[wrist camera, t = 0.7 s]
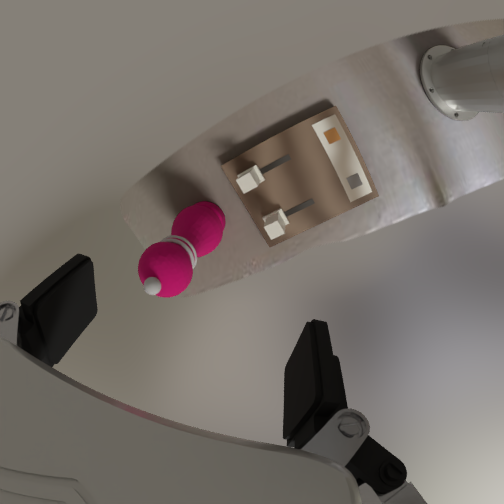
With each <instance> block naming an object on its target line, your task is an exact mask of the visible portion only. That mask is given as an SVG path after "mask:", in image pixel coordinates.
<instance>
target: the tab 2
mask: <svg viewBox="0 0 504 504" xmlns="http://www.w3.org/2000/svg"><path fill="white" fill-rule="evenodd" d="M263 220H264V222H265V224H264V228H265V230H266V232H267V234H268V235H269V237H270V239H271V240H272V239H274V238H276V237H279V236H281V235H283V234H285V225H287V224H289V221H288V219H287V217H286V215H285V213H284V212H283V210H282V208H280V209H278V210H276V211H274V212H272V213H270V214H268V215H266V216H264V217H263Z"/></svg>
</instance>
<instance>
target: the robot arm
mask: <svg viewBox="0 0 504 504" xmlns="http://www.w3.org/2000/svg"><path fill="white" fill-rule="evenodd" d="M420 76H421V81H422V84H423V87H424V90H425V92H426V94H427V96H428V98H429V99H430V101H431V102H432V103H433V105H434V106H435V107H436V108H437V109H438V110H439V111H440V112H441V113H442V114H444V115H445V116H447V117H449V118H451V119H454V120H458V121H467V120H470V119H473V118H474V117H475V116H476V115H477V114H478V113H479V112H493V113H504V35H500V36H497V37H493V38H490V39H486V40H483V41H480V42H476V43H473V44H470V45H467V46H464V47H461V48H458V49H455V48H453V47H450V46H446V45H438V46H434V47H432V48H430V49H429V50H427V51H426V52H425V54H424V55H423V57H422V59H421V64H420ZM20 302H21V306H20V307H18V305H17V304H16V303H15V302H12V301H4V302H1V303H0V504H427V503H426V502H425V501H424V499H423V498H422V496H421V495H420V494H419V492H418V491H417V489H416V488H415V487H414V485H413V484H412V483H411V482H410V483H407V482H406V477H407V471H406V467H405V466H404V464H403V463H402V462H401V461H400V460H399V459H398V458H397V457H395V456H394V455H392V454H391V453H390V452H388V450H386V449H385V448H384V447H382V446H381V445H380V444H379V443H377V442H376V441H375V440H374V439H372V438H371V437H370V436H369V435H368V434H369V430H370V426H369V422H368V420H367V419H366V417H365V416H364V415H363V414H362V413H361V412H359V411H357V410H354V409H348V407H347V401H346V395H345V389H344V383H343V378H342V372H341V367H340V362H339V358H338V357H337V356H335V355H333V351H332V346H331V341H330V335H329V330H328V325H327V322H324V321H319V320H315V319H313V320H312V321H311V322H307V323H306V325H305V327H304V329H303V331H302V333H301V335H300V338H299V340H298V342H297V344H296V346H295V348H294V350H293V352H292V354H291V356H290V358H289V360H288V362H287V364H286V367H285V373H284V374H285V375H284V376H285V378H284V419H283V438H284V439H287V446H288V447H285V446H279V445H274V444H269V443H263V442H256V441H251V440H246V439H241V438H236V437H232V436H227V435H223V434H219V433H214V432H210V431H206V430H202V429H198V428H194V427H191V426H187V425H184V424H181V423H178V422H174V421H171V420H168V419H165V418H162V417H159V416H156V415H153V414H151V413H148V412H145V411H142V410H140V409H137V408H135V407H131V406H129V405H127V404H124V403H122V402H120V401H117V400H115V399H113V398H110V397H108V396H106V395H104V394H101V393H100V392H97V391H95V390H93V389H91V388H89V387H87V386H85V385H83V384H81V383H79V382H77V381H75V380H73V379H71V378H69V377H68V376H66V375H64V374H62V373H61V372H59V371H57V370H55V369H54V368H52V367H53V365H54V364H57V363H59V361H60V360H61V359H62V357H63V356H64V355H65V353H66V352H67V351H68V350H69V348H70V347H71V346H72V344H73V343H74V342H75V341H76V339H77V338H78V337H79V336H80V334H81V333H82V332H83V331H84V329H85V328H86V327H87V326H88V325H89V323H90V322H91V321H92V320H93V319H94V317H95V316H96V314H97V302H96V292H95V283H94V268H93V262H92V261H91V259H90V258H89V257H87V256H84V255H82V254H77V255H75V256H74V257H73V258H71V259H70V260H69V261H68V262H66V263H65V264H64V265H62V266H61V267H60V268H59V269H57V270H56V271H55V272H54V273H52V274H51V275H50V276H49V277H47V278H46V279H45V280H44V281H43V282H41V283H40V284H39V285H38V286H37V287H35V288H34V289H33V290H32V291H31V292H30V293H28V294H27V295H26V296H25V297H24V298H23V299H22V300H21V301H20ZM291 447H295V448H291Z"/></svg>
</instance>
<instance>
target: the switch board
mask: <svg viewBox="0 0 504 504" xmlns="http://www.w3.org/2000/svg"><path fill="white" fill-rule="evenodd" d="M255 165H257V166H258V168H259V170H260V171H261V173H262V175H263V176H264V178H265V180H264V181H263V182H261V183H259V185H258V187H256V188H254V189H252V190H250V191H248V192H246V193H245V194H244V193H243V191H242V190H241V188H240V187H239V185H238V183H237V182H236V179H237V178H238V176H237V175H239V174H240V173H242V172H244V171H246V170H247V169H249V168H251V167H253V166H255ZM221 167H222V169H223V171H224V172H225V174H226V176H227V177H228V179H229V180H230V182H231V184H232V185H233V187H234V189H235V190H236V192H237V194H238V195H239V197H240V199H241V200H242V202H243V204H244V205H245V207H246V209H247V210H248V212H249V213H250V215H251V217H252V218H253V220H254V222H255V224H256V225H257V227H258V229H259V230H260V232H261V234H262V235H263V237H264V239H265V240H266V242H267V244H268V245H269V247H272V246H274V245H276V244H278V243H280V242H282V241H284V240H287V239H289V238H291V237H293V236H295V235H297V234H299V233H301V232H304V231H306V230H308V229H310V228H312V227H314V226H316V225H318V224H321V223H323V222H325V221H327V220H329V219H331V218H333V217H335V216H338V215H340V214H342V213H344V212H346V211H348V210H350V209H352V208H354V207H357V206H359V205H361V204H363V203H365V202H367V201H369V200H371V199H373V198H376V197H378V196H379V195H378V193H377V190H376V188H375V185H374V183H373V180H372V178H371V176H370V174H369V171H368V169H367V167H366V164H365V162H364V160H363V158H362V156H361V154H360V152H359V149H358V147H357V145H356V143H355V141H354V139H353V137H352V135H351V133H350V131H349V129H348V127H347V125H346V124H345V122H344V120H343V118H342V116H341V114H340V112H339V111H338V109H337V107H336V106H334V107H332V108H330V109H327V110H325V111H323V112H321V113H319V114H317V115H315V116H313V117H310V118H308V119H306V120H304V121H302V122H300V123H298V124H296V125H294V126H292V127H290V128H288V129H286V130H284V131H283V132H281V133H279V134H277V135H275V136H273V137H271V138H269V139H267V140H266V141H264V142H262V143H260V144H258V145H256V146H255V147H253V148H251V149H249V150H247V151H246V152H244V153H242V154H240V155H239V156H237V157H235V158H234V159H232V160H230V161H228V162H227V163H225V164H223V165H222V166H221ZM280 208H282V210H283V212H284V213H285V215H286V217H287V219H288V221H289V224H287V225H285V234H283V235H281V236H279V237H276V238H274V239H272V240H271V239H270V237H269V235H268V234H267V232H266V230H265V228H264V224H265V222H264V220H263V217H264V216H266V215H268V214H270V213H272V212H274V211H276V210H278V209H280Z"/></svg>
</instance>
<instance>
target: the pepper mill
mask: <svg viewBox="0 0 504 504" xmlns="http://www.w3.org/2000/svg"><path fill="white" fill-rule="evenodd" d="M224 227H225V216H224V214H223V212H222V210H221V209H220V208H219V207H218V206H217V205H215V204H213V203H211V202H207V201H202V202H198V203H196V204H194V205H193V206H189V207H187V208H185V209H183V210H182V211H181V212H180V213H179V214H178V215H177V217H176V218H175V220H174V223H173V226H172V231H171V236H168V237H166V238H164V239H163V240H162V241H161V242H158V243H155V244H153V245H151V246H150V247H148V248H147V249H146V250H145V252H144V253H143V254H142V256H141V258H140V260H139V266H138V273H139V277H140V280H141V282H142V283H143V285H144V290H145V291H146V292H147V293H148V294H150V295H157V296H160V297H173V296H176V295H178V294H180V293H181V292H182V291H184V290H185V289H186V288H187V286H188V285H189V283H190V281H191V279H192V274H193V268H194V267H195V265H196V262H197V257H201V256H204V255H206V254H208V253H210V252H212V251H213V250H214V249H215V248H216V247H217V246H218V244H219V243H220V241H221V238H222V234H223V230H224Z"/></svg>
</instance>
